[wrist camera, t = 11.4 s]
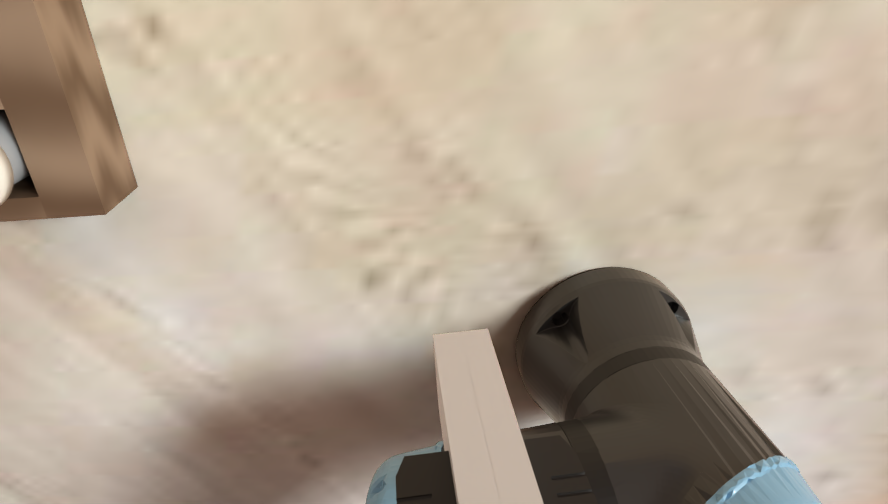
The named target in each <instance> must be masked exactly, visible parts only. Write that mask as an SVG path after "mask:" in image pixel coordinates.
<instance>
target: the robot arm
mask: <svg viewBox="0 0 888 504" xmlns="http://www.w3.org/2000/svg"><path fill="white" fill-rule="evenodd" d="M433 346H434V358H435V370H436V382H437V394H438V406H439V415H440V422H441V429H442V436H443V441H439V442H438V443H437V444H436V445H435V446H431V447H427V448H423V449H419V450H415V451H411V452H407V453H403V454H399V455H395V456H393V457H391V458H389V459H387V460H386V461H385V462H384V463H383V464H382V465H381V466H380V467H379V468H378V469H377V471H376V473H375V474H374V476H373V479H372V481H371V484H370V487H369V490H368V495H367V499H366V504H822V503H821V502H820V501H819V499H818V498H817V497H816V495H815V494H814V492H813V491H812V490H811V488H810V487H809V486H808V484H807V483H806V481H805V480H804V479H803V477H802V476H801V475H800V472H799V469H798V468H797V466H796V464H794V463H793V462H792V461H791V460H789V459H788V458H787V457H785V456H784V455H783V454H782V453H781V451H780V450H779V449H778V448H777V447H776V446H775V445H774V443H773V442H772V441H771V440H770V439H769V438H768V436H767V435H766V434H765V433H764V432H763V431H762V430H761V428H760V427H759V426H758V425H757V424H756V423H755V421H754V420H753V419H752V418H751V417H750V416H749V415H748V413H747V412H746V411H745V410H744V409H743V408H742V406H741V405H740V404H739V403H738V402H737V401H736V400H735V398H734V397H733V396H732V395H731V394H730V393H729V391H728V390H727V389H726V388H725V387H724V386H723V384H722V383H721V382H720V381H719V380H718V379H717V378H716V376H715V375H714V374H713V373H712V372H711V371H710V370H709V369H708V367H707V366H706V365H705V364H704V363H703V360H702V357H701V354H700V351H699V347H698V344H697V341H696V338H695V335H694V331H693V328H692V325H691V322H690V319H689V316H688V314H687V312H686V310H685V308H684V307H683V305H682V304H681V302H680V301H679V300H678V299H677V298H676V297H675V296H674V294H673V293H672V292H671V291H670V290H669V289H668V288H667V287H666V286H665V285H664V284H663V283H662V282H660V281H659V280H658V279H656V278H655V277H653V276H651V275H649V274H647V273H644V272H641V271H638V270H634V269H628V268H602V269H596V270H592V271H588V272H585V273H581V274H579V275H576V276H574V277H572V278H569V279H567V280H566V281H564V282H562V283H560V284H559V285H557V286H556V287H554V288H553V289H551V290H550V291H549V292H547V293H546V294H545V295H544V296H543V297H542V298H541V299H540V300H539V301H538V302H537V303H536V304H535V305H534V306H533V308H532V309H531V310H530V312H529V313H528V315H527V316H526V318H525V320H524V322H523V324H522V326H521V328H520V331H519V334H518V337H517V342H516V361H517V365H518V369H519V371H520V374H521V377H522V380H523V382H524V385H525V387H526V389H527V391H528V392H529V394H530V396H531V397H532V398H533V400H534V401H535V402H536V403H537V404H538V405H539V406H540V407H541V408H542V409H543V410H544V411H545V412H546V413H547V414H548V415H549V416H550V417H551V418H552V419H553V420H554V421H555V423H551V424H545V425H540V426H535V427H530V428H524V429H520V428H519V425H518V422H517V419H516V416H515V412H514V409H513V406H512V403H511V400H510V397H509V394H508V391H507V387H506V384H505V381H504V378H503V375H502V372H501V369H500V365H499V362H498V359H497V356H496V353H495V350H494V347H493V344H492V340H491V337H490V334H489V331H488V328H487V329H478V330H469V331H460V332H451V333H442V334H433Z"/></svg>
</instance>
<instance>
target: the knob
mask: <svg viewBox="0 0 888 504" xmlns="http://www.w3.org/2000/svg"><path fill="white" fill-rule="evenodd" d="M28 176H30V173H29V170H28V168H27V165H26V163H25V160H24V158H23V155H22V153H21V150H20V148H19V145H18V143H17V140H16V138H15V135H14V132H13V130H12V127H11V125H10V122H9V120H8V117H7V115H6V112H5V110H4V109H3V110H0V205H2V204H3V203H4V202H5V201H6V200H7V199H8V197H9V196H10V194H11V192H12V189H13V185H14V184H16V183H17V182H19V181H21V180H23V179H25V178H26V177H28Z"/></svg>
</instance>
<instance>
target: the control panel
mask: <svg viewBox="0 0 888 504" xmlns="http://www.w3.org/2000/svg"><path fill="white" fill-rule="evenodd" d="M3 109H4V110H5V112H6V115H7V117H8V120H9V122H10V125H11V127H12V130H13V132H14V135H15V138H16V140H17V143H18V145H19V148H20V150H21V153H22V155H23V158H24V160H25V163H26V165H27V168H28V170H29V173H30V176H28V177H26V178H25V179H23V180H21V181H19V182H17V183H16V184H14V185H13V189H12V192H11V194H10V196H9V197H8V199H7V200H6V201H5V202H4V203H3V204H2V205H0V222H1V221H16V220H32V219H47V218H62V217H77V216H92V215H106V214H107V213H108V212H109V211H110V210H112V209H113V208H114V207H115V206H116V205H117V204H118V203H120V202H121V201H122V200H123V199H124V198H125V197H127V196H128V195H129V194H130V193H131V192H132V191H134V190H135V189H136V188H137V187H138V186H137V183H136V180H135V177H134V173H133V170H132V167H131V163H130V160H129V157H128V154H127V150H126V147H125V144H124V140H123V137H122V134H121V130H120V127H119V124H118V121H117V117H116V114H115V111H114V107H113V104H112V101H111V98H110V94H109V91H108V88H107V84H106V81H105V78H104V75H103V71H102V68H101V65H100V61H99V58H98V55H97V51H96V48H95V45H94V42H93V38H92V35H91V32H90V28H89V25H88V22H87V19H86V15H85V12H84V9H83V5H82V2H81V0H0V110H3Z"/></svg>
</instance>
